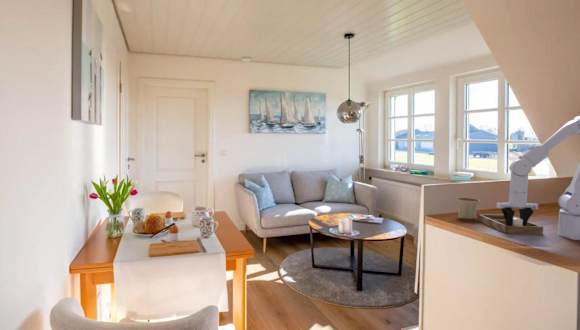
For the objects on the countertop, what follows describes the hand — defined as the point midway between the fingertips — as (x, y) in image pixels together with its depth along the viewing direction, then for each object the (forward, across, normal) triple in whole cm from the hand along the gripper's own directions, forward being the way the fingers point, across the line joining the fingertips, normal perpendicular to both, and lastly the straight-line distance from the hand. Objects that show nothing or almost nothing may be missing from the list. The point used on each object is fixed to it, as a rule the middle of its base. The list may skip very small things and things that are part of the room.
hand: (515, 227), depth 143 cm
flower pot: (+2, +8, -22) cm, 23 cm away
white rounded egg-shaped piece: (+1, 0, 0) cm, 1 cm away
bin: (+2, 0, -5) cm, 5 cm away
